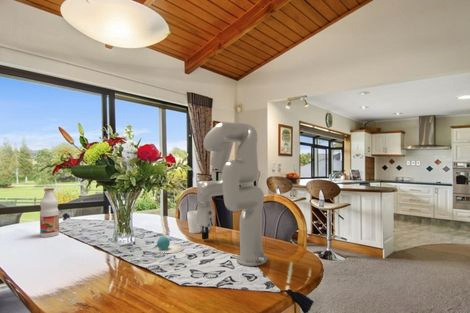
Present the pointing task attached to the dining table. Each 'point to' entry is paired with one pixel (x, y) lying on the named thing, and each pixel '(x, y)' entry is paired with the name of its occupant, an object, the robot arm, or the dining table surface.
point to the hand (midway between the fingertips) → (205, 238)
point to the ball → (163, 243)
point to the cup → (193, 222)
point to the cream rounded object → (172, 249)
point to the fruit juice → (49, 214)
